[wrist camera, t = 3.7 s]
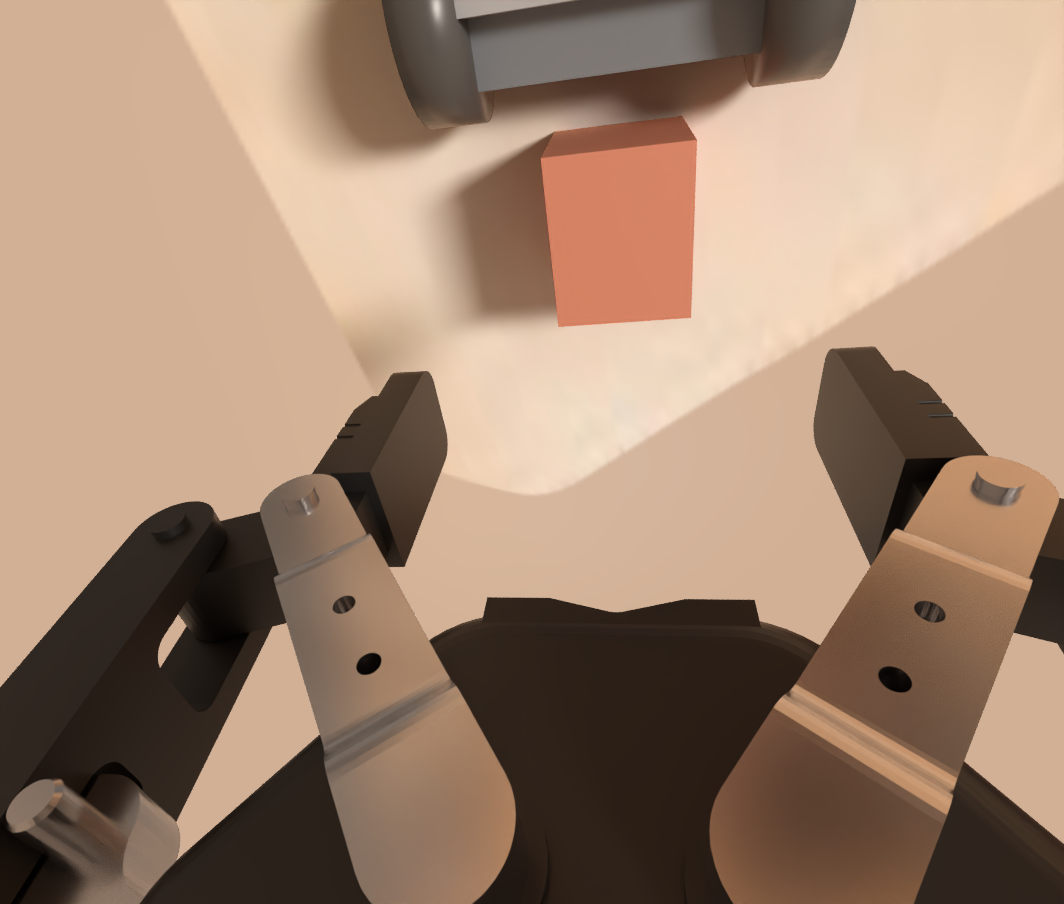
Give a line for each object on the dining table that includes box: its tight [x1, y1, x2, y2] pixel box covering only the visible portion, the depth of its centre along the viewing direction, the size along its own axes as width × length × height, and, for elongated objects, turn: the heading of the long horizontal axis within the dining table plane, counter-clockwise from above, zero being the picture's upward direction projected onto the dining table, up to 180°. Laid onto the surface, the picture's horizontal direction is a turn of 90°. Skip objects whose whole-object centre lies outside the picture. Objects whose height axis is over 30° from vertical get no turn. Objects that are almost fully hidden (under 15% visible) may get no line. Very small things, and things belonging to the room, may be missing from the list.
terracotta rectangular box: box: [541, 116, 697, 327], centre depth 23 cm, size 5×6×6 cm
